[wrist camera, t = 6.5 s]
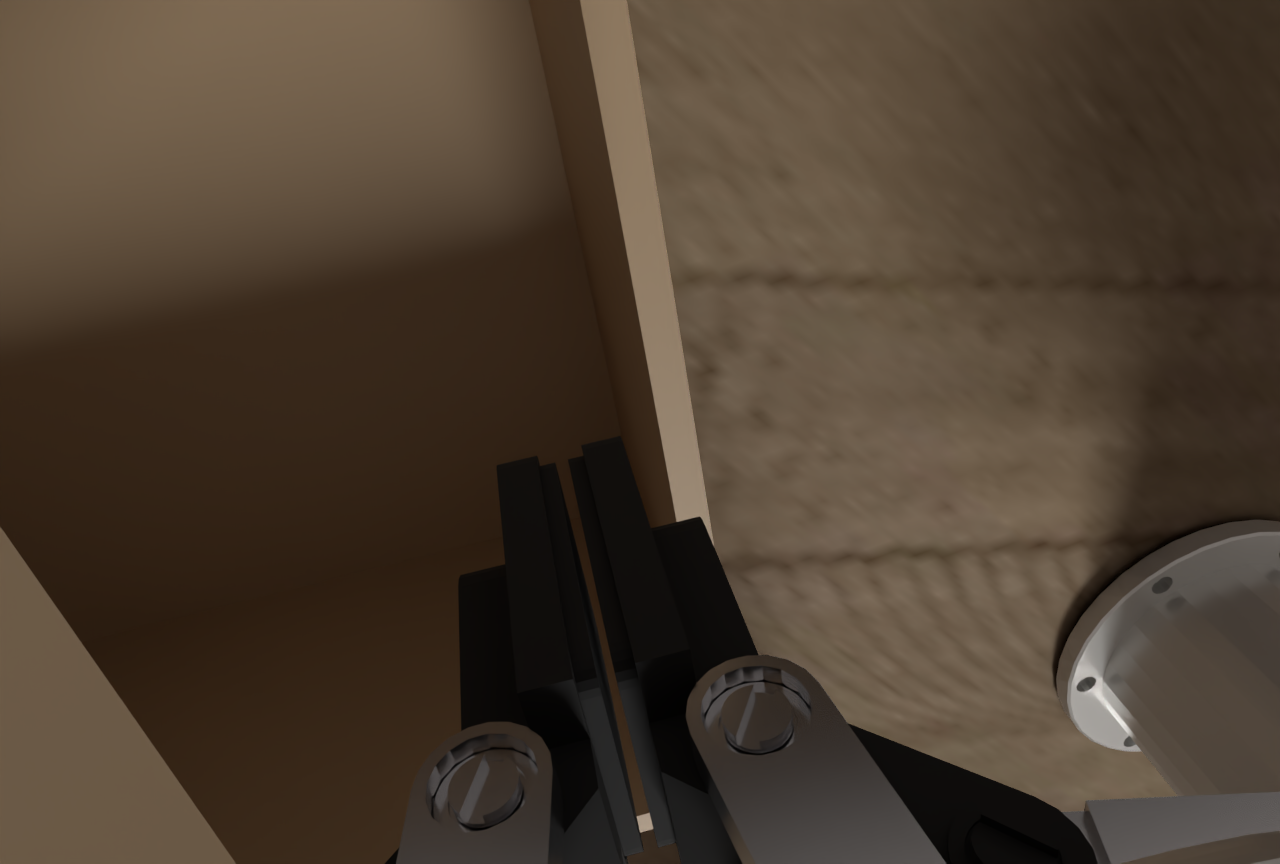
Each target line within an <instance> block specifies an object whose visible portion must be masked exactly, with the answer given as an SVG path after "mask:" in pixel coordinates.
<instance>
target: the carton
mask: <svg viewBox="0 0 1280 864" xmlns="http://www.w3.org/2000/svg"><path fill="white" fill-rule="evenodd" d="M617 436H621V438H622V441H623V444H624V447H625V450H626V453H627V456H628V459H629V463H630V466H631V469H632V472H633V475H634V478H635V481H636V484H637V487H638V490H639V493H640V496H641V499H642V503H643V506H644V509H645V512H646V515H647V518H648V521H649V524H650V527H651V528H654V527H658V526H662V525H667V524H671V523H675V522H679V521H683V520H687V519H691V518H695V517H699V516H700V517H701V518H702V520H703V522H704V524H705V526H706V529H707V531H708V534H709V536H710V538H711V541H712V543H713V536H712V530H711V524H710V518H709V511H708V505H707V499H706V493H705V486H704V480H703V474H702V468H701V461H700V455H699V449H698V443H697V436H696V430H695V424H694V418H693V411H692V405H691V399H690V393H689V386H688V380H687V374H686V368H685V361H684V355H683V349H682V343H681V336H680V330H679V324H678V318H677V311H676V305H675V299H674V293H673V286H672V280H671V274H670V268H669V261H668V255H667V249H666V243H665V236H664V230H663V224H662V218H661V211H660V205H659V199H658V193H657V186H656V180H655V174H654V168H653V161H652V155H651V149H650V143H649V136H648V130H647V124H646V118H645V111H644V105H643V99H642V93H641V86H640V80H639V74H638V68H637V61H636V55H635V49H634V42H633V36H632V30H631V24H630V17H629V11H628V5H627V0H0V527H1V528H2V530H3V531H4V533H5V534H6V536H7V537H8V538H9V540H10V541H11V543H12V544H13V546H14V547H15V548H16V550H17V551H18V553H19V554H20V556H21V557H22V558H23V560H24V561H25V563H26V564H27V566H28V567H29V568H30V570H31V571H32V573H33V574H34V576H35V577H36V578H37V580H38V581H39V583H40V584H41V586H42V587H43V588H44V590H45V591H46V593H47V594H48V596H49V597H50V598H51V600H52V601H53V603H54V604H55V606H56V607H57V608H58V610H59V611H60V613H61V614H62V616H63V617H64V618H65V620H66V621H67V623H68V624H69V626H70V627H71V628H72V630H73V631H74V633H75V634H76V636H77V637H78V638H79V640H80V641H81V643H82V644H83V646H84V647H85V648H86V650H87V651H88V653H89V654H90V656H91V657H92V658H93V660H94V661H95V663H96V664H97V666H98V667H99V668H100V670H101V671H102V673H103V674H104V676H105V677H106V678H107V680H108V681H109V683H110V684H111V686H112V687H113V688H114V690H115V691H116V693H117V694H118V696H119V697H120V698H121V700H122V701H123V703H124V704H125V706H126V707H127V708H128V710H129V711H130V713H131V714H132V716H133V717H134V718H135V720H136V721H137V723H138V724H139V726H140V727H141V728H142V730H143V731H144V733H145V734H146V736H147V737H148V738H149V740H150V741H151V743H152V744H153V746H154V747H155V748H156V750H157V751H158V753H159V754H160V756H161V757H162V758H163V760H164V761H165V763H166V764H167V766H168V767H169V768H170V770H171V771H172V773H173V774H174V776H175V777H176V778H177V780H178V781H179V783H180V784H181V786H182V787H183V789H184V790H185V791H186V793H187V794H188V796H189V797H190V799H191V800H192V801H193V803H194V804H195V806H196V807H197V809H198V810H199V811H200V813H201V814H202V816H203V817H204V819H205V820H206V821H207V823H208V824H209V826H210V827H211V829H212V830H213V831H214V833H215V834H216V836H217V837H218V839H219V840H220V841H221V843H222V844H223V846H224V847H225V849H226V850H227V851H228V853H229V854H230V856H231V857H232V859H233V860H234V861H235V863H236V864H385V863H386V861H387V860H388V859H389V858H390V857H391V856H392V855H393V854H394V852H395V851H396V850H397V849H398V848H399V846H400V841H401V836H402V831H403V827H404V822H405V817H406V812H407V807H408V802H409V797H410V792H411V788H412V786H413V783H414V780H415V778H416V775H417V772H418V770H419V769H420V767H421V766H422V764H423V763H424V762H425V760H426V759H427V758H428V756H429V755H430V753H431V752H432V751H434V750H435V749H436V748H437V747H438V746H439V745H441V744H442V743H443V742H444V741H445V740H446V739H448V738H449V737H451V736H453V735H455V734H457V733H459V732H461V697H460V649H459V602H458V581H459V577H460V575H463V574H467V573H471V572H475V571H479V570H483V569H487V568H491V567H495V566H500V565H504V564H505V556H504V545H503V534H502V523H501V512H500V501H499V491H498V480H497V465H499V464H504V463H508V462H512V461H516V460H520V459H525V458H529V457H533V456H537V457H538V460H539V463H540V466H542V465H546V464H551V463H556V467H557V471H558V474H559V478H560V482H561V486H562V490H563V494H564V498H565V502H566V506H567V510H568V514H569V518H570V522H571V526H572V529H573V533H574V537H575V541H576V545H577V549H578V553H579V557H580V561H581V565H582V569H583V573H584V577H585V581H586V584H587V588H588V592H589V596H590V600H591V604H592V608H593V612H594V616H595V620H596V625H597V629H598V634H599V638H600V643H601V648H602V653H603V657H604V662H605V667H606V672H607V677H608V681H609V686H610V691H611V696H612V701H613V705H614V710H615V715H616V720H617V725H618V729H619V734H620V739H621V744H622V749H623V753H624V758H625V763H626V768H627V773H628V777H629V782H630V787H631V792H632V797H633V801H634V806H635V811H636V816H637V820H638V825H639V830H640V833H641V832H644V831H648V830H651V829H653V825H652V821H651V817H650V813H649V809H648V805H647V801H646V797H645V793H644V789H643V785H642V781H641V777H640V773H639V769H638V765H637V761H636V757H635V753H634V749H633V745H632V741H631V737H630V733H629V729H628V725H627V721H626V717H625V713H624V709H623V705H622V701H621V697H620V693H619V689H618V685H617V681H616V676H615V672H614V668H613V664H612V659H611V655H610V650H609V646H608V641H607V637H606V632H605V628H604V623H603V619H602V614H601V609H600V605H599V600H598V596H597V591H596V586H595V582H594V577H593V573H592V568H591V564H590V559H589V554H588V550H587V545H586V541H585V536H584V531H583V527H582V522H581V518H580V513H579V509H578V504H577V499H576V495H575V490H574V486H573V481H572V476H571V472H570V467H569V463H568V459H572V458H576V457H580V456H583V451H582V447H581V445H584V444H588V443H592V442H596V441H600V440H605V439H609V438H613V437H617ZM713 546H714V543H713Z"/></svg>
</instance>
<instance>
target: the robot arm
mask: <svg viewBox="0 0 1280 864" xmlns="http://www.w3.org/2000/svg"><path fill="white" fill-rule="evenodd" d="M581 447H582V451H583V456H580V457H576V458H572V459H568V463H569V467H570V472H571V476H572V481H573V486H574V490H575V495H576V499H577V504H578V509H579V513H580V518H581V522H582V527H583V531H584V536H585V541H586V545H587V550H588V554H589V559H590V564H591V568H592V573H593V577H594V582H595V586H596V591H597V596H598V600H599V605H600V609H601V614H602V619H603V623H604V628H605V632H606V637H607V641H608V646H609V650H610V655H611V659H612V664H613V668H614V672H615V676H616V681H617V685H618V689H619V693H620V697H621V701H622V705H623V709H624V713H625V717H626V721H627V725H628V729H629V733H630V737H631V741H632V745H633V749H634V753H635V757H636V761H637V765H638V769H639V773H640V777H641V781H642V785H643V789H644V793H645V797H646V801H647V805H648V809H649V813H650V817H651V821H652V825H653V829H654V833H655V837H656V841H657V845H658V847H662V846H666V845H669V844H673V843H676V844H677V848H678V852H679V856H680V860H681V864H1280V521H1269V520H1247V521H1237V522H1229V523H1225V524H1221V525H1217V526H1214V527H1210V528H1206V529H1202V530H1199V531H1197V532H1194V533H1192V534H1190V535H1187V536H1185V537H1182V538H1180V539H1177V540H1175V541H1173V542H1171V543H1169V544H1167V545H1165V546H1164V547H1162V548H1160V549H1158V550H1157V551H1155V552H1153V553H1151V554H1149V555H1148V556H1146V557H1145V558H1143V559H1142V560H1140V561H1139V562H1138V563H1136V564H1135V565H1133V566H1132V567H1131V568H1129V569H1128V570H1127V571H1125V572H1124V573H1122V574H1121V575H1120V576H1119V577H1118V578H1117V579H1116V580H1115V581H1113V582H1112V583H1111V584H1110V585H1109V586H1108V587H1107V588H1106V589H1105V590H1104V591H1103V592H1101V593H1100V594H1099V596H1098V597H1097V598H1096V599H1095V600H1094V602H1093V603H1092V604H1091V605H1090V606H1089V607H1088V609H1087V610H1086V611H1085V612H1084V613H1083V615H1082V616H1081V618H1080V619H1079V621H1078V622H1077V624H1076V626H1075V627H1074V629H1073V630H1072V632H1071V634H1070V635H1069V637H1068V640H1067V642H1066V645H1065V647H1064V649H1063V652H1062V654H1061V657H1060V660H1059V665H1058V671H1057V677H1056V682H1057V694H1058V698H1059V700H1060V703H1061V705H1062V707H1063V710H1064V711H1065V713H1066V714H1067V715H1068V717H1069V718H1070V719H1071V720H1072V722H1073V723H1074V725H1075V726H1076V727H1077V729H1078V730H1079V731H1080V732H1081V733H1082V734H1084V735H1085V736H1086V737H1087V738H1088V739H1090V740H1091V741H1093V742H1095V743H1097V744H1100V745H1102V746H1105V747H1107V748H1111V749H1116V750H1121V751H1142V752H1143V753H1144V755H1145V756H1146V757H1147V758H1148V759H1149V761H1150V762H1151V763H1152V764H1153V766H1154V767H1155V768H1156V769H1157V771H1158V772H1159V773H1160V774H1161V776H1162V777H1163V778H1164V779H1165V780H1166V782H1167V783H1168V784H1169V785H1170V787H1171V788H1172V789H1173V790H1174V792H1175V793H1176V794H1177V795H1178V796H1176V797H1154V798H1132V799H1110V800H1088V801H1086V803H1085V809H1084V811H1076V812H1061V811H1059V810H1058V809H1057V808H1055V807H1053V806H1051V805H1049V804H1047V803H1045V802H1043V801H1042V800H1040V799H1038V798H1036V797H1034V796H1031V795H1029V794H1026V793H1024V792H1021V791H1019V790H1016V789H1014V788H1011V787H1009V786H1006V785H1003V784H1001V783H998V782H996V781H993V780H991V779H988V778H986V777H983V776H981V775H978V774H975V773H973V772H970V771H968V770H965V769H963V768H960V767H958V766H955V765H953V764H950V763H947V762H945V761H942V760H940V759H937V758H935V757H932V756H930V755H927V754H925V753H922V752H919V751H917V750H914V749H912V748H909V747H907V746H904V745H902V744H899V743H897V742H894V741H891V740H889V739H886V738H884V737H881V736H879V735H876V734H874V733H871V732H869V731H866V730H863V729H861V728H858V727H856V726H853V725H851V724H848V723H847V722H846V720H845V719H844V717H843V716H842V715H841V713H840V712H839V710H838V709H837V708H836V706H835V705H834V703H833V702H832V700H831V699H830V698H829V696H828V695H827V693H826V692H825V691H824V689H823V688H822V686H821V685H820V683H819V682H818V681H817V680H816V679H815V678H814V677H813V676H812V675H811V674H810V673H809V672H808V671H807V670H806V669H804V668H802V667H800V666H799V665H797V664H795V663H793V662H791V661H789V660H786V659H782V658H778V657H773V656H769V655H758V653H757V650H756V648H755V645H754V643H753V640H752V638H751V636H750V633H749V631H748V628H747V626H746V623H745V621H744V619H743V616H742V614H741V611H740V609H739V606H738V604H737V602H736V599H735V597H734V594H733V592H732V589H731V587H730V585H729V582H728V580H727V577H726V575H725V572H724V570H723V568H722V565H721V563H720V560H719V558H718V555H717V553H716V551H715V548H714V546H713V543H712V541H711V538H710V536H709V534H708V531H707V529H706V526H705V524H704V522H703V520H702V518H701V517H700V516H699V517H695V518H691V519H687V520H683V521H679V522H675V523H671V524H667V525H662V526H658V527H654V528H651V527H650V524H649V521H648V518H647V515H646V512H645V509H644V506H643V503H642V499H641V496H640V493H639V490H638V487H637V484H636V481H635V478H634V475H633V472H632V469H631V466H630V463H629V459H628V456H627V453H626V450H625V447H624V444H623V441H622V438H621V436H617V437H613V438H609V439H605V440H600V441H596V442H592V443H588V444H584V445H581ZM497 480H498V491H499V501H500V512H501V523H502V534H503V545H504V556H505V564H504V565H500V566H495V567H491V568H487V569H483V570H479V571H475V572H471V573H467V574H463V575H460V577H459V581H458V602H459V649H460V697H461V732H459V733H457V734H455V735H453V736H451V737H449V738H448V739H446V740H445V741H444V742H443V743H442V744H441V745H439V746H438V747H437V748H436V749H435V750H434V751H432V752H431V753H430V755H429V756H428V758H427V759H426V760H425V762H424V763H423V764H422V766H421V767H420V769H419V770H418V772H417V775H416V778H415V780H414V783H413V786H412V788H411V792H410V797H409V802H408V807H407V812H406V817H405V822H404V827H403V831H402V836H401V841H400V846H399V848H398V849H397V850H396V851H395V852H394V854H393V855H392V856H391V857H390V858H389V859H388V860H387V861H386V863H385V864H628V861H627V856H629V855H633V854H636V853H640V852H644V851H643V845H642V840H641V835H640V830H639V825H638V820H637V816H636V811H635V806H634V801H633V797H632V792H631V787H630V782H629V777H628V773H627V768H626V763H625V758H624V753H623V749H622V744H621V739H620V734H619V729H618V725H617V720H616V715H615V710H614V705H613V701H612V696H611V691H610V686H609V681H608V677H607V672H606V667H605V662H604V657H603V653H602V648H601V643H600V638H599V634H598V629H597V625H596V620H595V616H594V612H593V608H592V604H591V600H590V596H589V592H588V588H587V584H586V581H585V577H584V573H583V569H582V565H581V561H580V557H579V553H578V549H577V545H576V541H575V537H574V533H573V529H572V526H571V522H570V518H569V514H568V510H567V506H566V502H565V498H564V494H563V490H562V486H561V482H560V478H559V474H558V471H557V467H556V463H551V464H546V465H542V466H540V463H539V460H538V457H537V456H533V457H529V458H525V459H520V460H516V461H512V462H508V463H504V464H499V465H497Z"/></svg>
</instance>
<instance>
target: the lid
mask: <svg viewBox="0 0 1280 864" xmlns="http://www.w3.org/2000/svg"><path fill="white" fill-rule="evenodd" d="M0 864H236V863H235V861H234V860H233V859H232V857H231V856H230V854H229V853H228V851H227V850H226V849H225V847H224V846H223V844H222V843H221V841H220V840H219V839H218V837H217V836H216V834H215V833H214V831H213V830H212V829H211V827H210V826H209V824H208V823H207V821H206V820H205V819H204V817H203V816H202V814H201V813H200V811H199V810H198V809H197V807H196V806H195V804H194V803H193V801H192V800H191V799H190V797H189V796H188V794H187V793H186V791H185V790H184V789H183V787H182V786H181V784H180V783H179V781H178V780H177V778H176V777H175V776H174V774H173V773H172V771H171V770H170V768H169V767H168V766H167V764H166V763H165V761H164V760H163V758H162V757H161V756H160V754H159V753H158V751H157V750H156V748H155V747H154V746H153V744H152V743H151V741H150V740H149V738H148V737H147V736H146V734H145V733H144V731H143V730H142V728H141V727H140V726H139V724H138V723H137V721H136V720H135V718H134V717H133V716H132V714H131V713H130V711H129V710H128V708H127V707H126V706H125V704H124V703H123V701H122V700H121V698H120V697H119V696H118V694H117V693H116V691H115V690H114V688H113V687H112V686H111V684H110V683H109V681H108V680H107V678H106V677H105V676H104V674H103V673H102V671H101V670H100V668H99V667H98V666H97V664H96V663H95V661H94V660H93V658H92V657H91V656H90V654H89V653H88V651H87V650H86V648H85V647H84V646H83V644H82V643H81V641H80V640H79V638H78V637H77V636H76V634H75V633H74V631H73V630H72V628H71V627H70V626H69V624H68V623H67V621H66V620H65V618H64V617H63V616H62V614H61V613H60V611H59V610H58V608H57V607H56V606H55V604H54V603H53V601H52V600H51V598H50V597H49V596H48V594H47V593H46V591H45V590H44V588H43V587H42V586H41V584H40V583H39V581H38V580H37V578H36V577H35V576H34V574H33V573H32V571H31V570H30V568H29V567H28V566H27V564H26V563H25V561H24V560H23V558H22V557H21V556H20V554H19V553H18V551H17V550H16V548H15V547H14V546H13V544H12V543H11V541H10V540H9V538H8V537H7V536H6V534H5V533H4V531H3V530H2V528H1V527H0Z"/></svg>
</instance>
